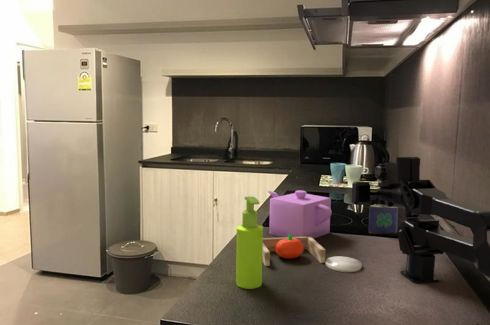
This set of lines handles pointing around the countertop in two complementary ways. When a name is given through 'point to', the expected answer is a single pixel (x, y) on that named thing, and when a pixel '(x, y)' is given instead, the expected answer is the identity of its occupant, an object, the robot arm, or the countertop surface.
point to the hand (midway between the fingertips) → (369, 190)
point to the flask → (383, 219)
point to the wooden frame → (308, 244)
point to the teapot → (299, 215)
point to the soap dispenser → (249, 248)
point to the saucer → (343, 264)
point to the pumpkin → (289, 247)
